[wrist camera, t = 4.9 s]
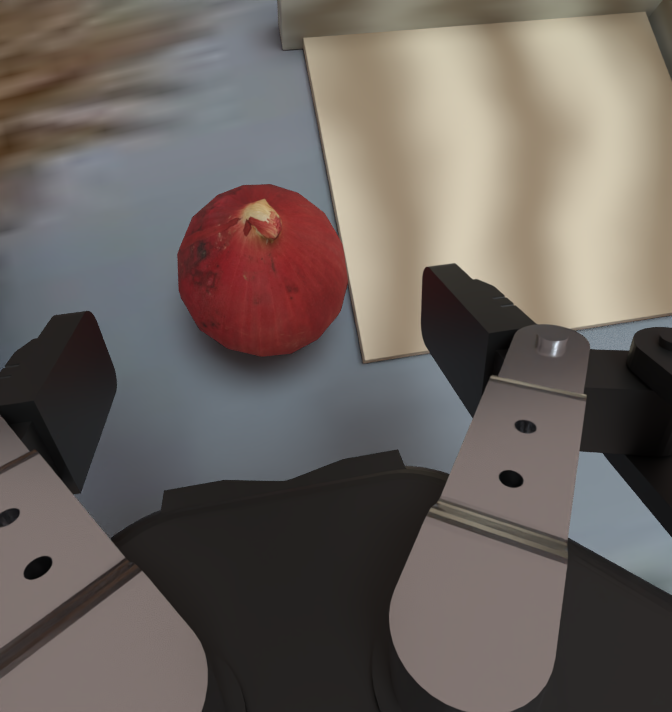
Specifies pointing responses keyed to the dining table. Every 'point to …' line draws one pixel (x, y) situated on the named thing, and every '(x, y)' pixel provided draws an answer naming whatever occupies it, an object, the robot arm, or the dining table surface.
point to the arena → (495, 153)
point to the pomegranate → (262, 270)
